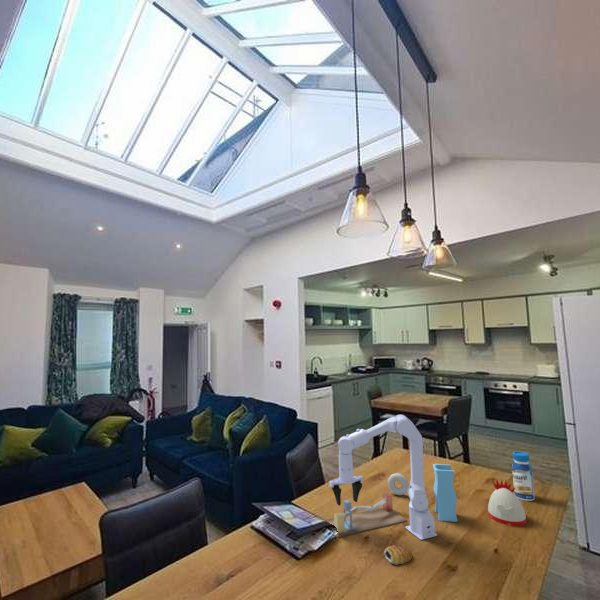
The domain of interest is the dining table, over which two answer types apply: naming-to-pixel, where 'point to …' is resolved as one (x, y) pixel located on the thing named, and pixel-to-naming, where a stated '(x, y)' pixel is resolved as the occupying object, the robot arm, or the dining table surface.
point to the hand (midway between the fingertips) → (347, 502)
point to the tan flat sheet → (371, 521)
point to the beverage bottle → (522, 476)
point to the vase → (445, 493)
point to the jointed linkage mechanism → (340, 517)
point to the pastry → (397, 554)
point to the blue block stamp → (348, 524)
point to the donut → (400, 478)
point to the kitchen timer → (506, 506)
